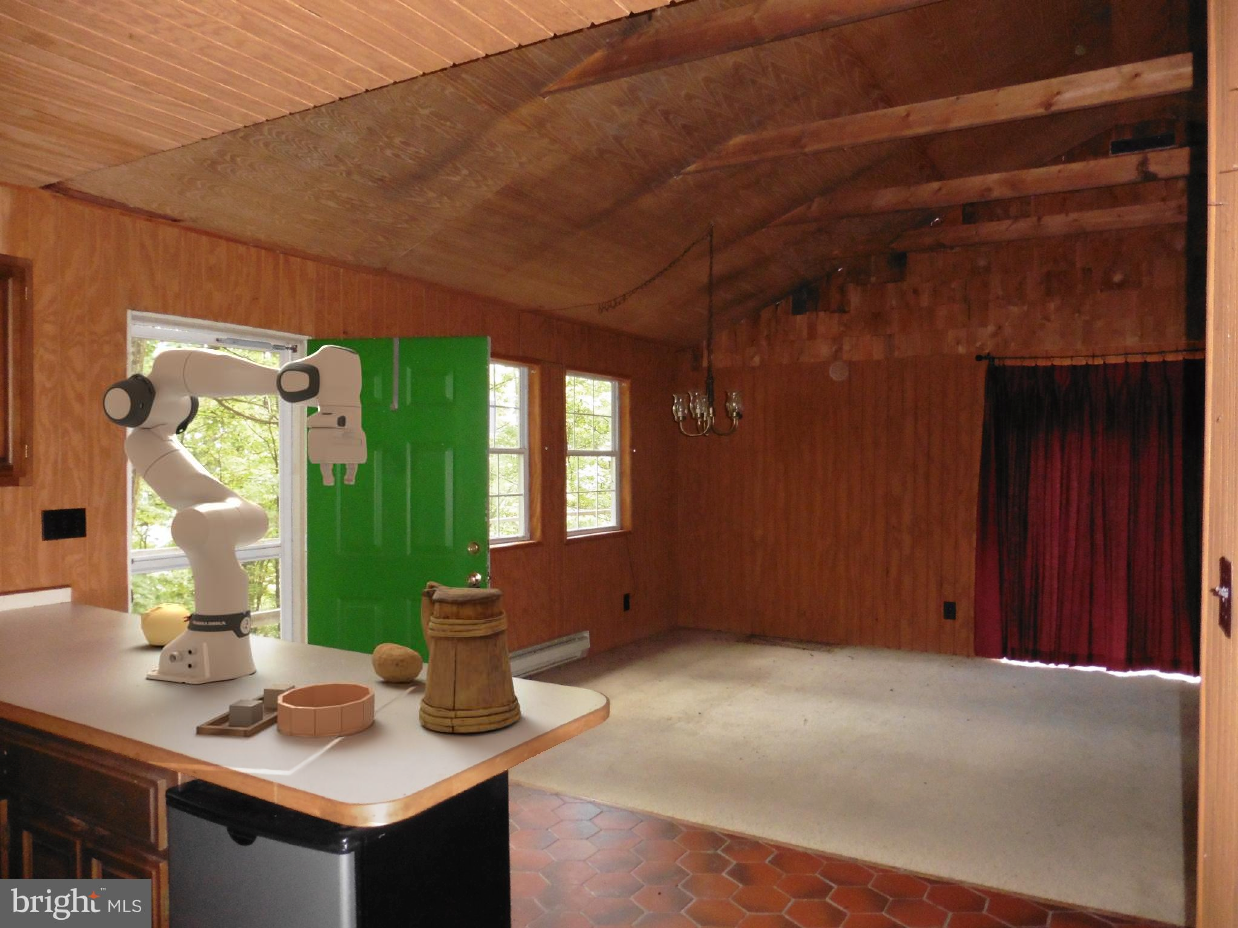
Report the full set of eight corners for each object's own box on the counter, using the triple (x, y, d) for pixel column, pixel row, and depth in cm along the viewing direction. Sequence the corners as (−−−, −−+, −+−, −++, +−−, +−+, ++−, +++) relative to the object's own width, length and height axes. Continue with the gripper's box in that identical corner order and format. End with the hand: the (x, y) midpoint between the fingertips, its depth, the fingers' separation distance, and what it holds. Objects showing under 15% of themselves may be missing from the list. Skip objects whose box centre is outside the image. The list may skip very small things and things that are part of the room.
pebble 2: (263, 707, 160) (263, 688, 160) (273, 701, 163) (274, 683, 163) (284, 708, 159) (284, 689, 159) (294, 702, 163) (294, 684, 163)
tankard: (472, 743, 142) (473, 598, 142) (381, 718, 155) (382, 586, 155) (539, 717, 157) (540, 586, 157) (451, 696, 170) (452, 575, 170)
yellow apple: (179, 637, 224) (179, 598, 224) (201, 643, 217) (202, 602, 217) (134, 645, 215) (134, 603, 215) (156, 651, 208) (156, 608, 208)
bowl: (258, 737, 144) (258, 705, 144) (307, 709, 161) (307, 680, 161) (347, 742, 142) (348, 710, 142) (388, 713, 158) (388, 684, 158)
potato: (395, 692, 173) (395, 654, 173) (361, 680, 182) (361, 644, 182) (435, 683, 180) (435, 647, 180) (400, 672, 189) (400, 637, 189)
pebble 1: (229, 725, 149) (229, 705, 149) (240, 718, 152) (241, 699, 152) (251, 726, 148) (251, 706, 148) (263, 720, 152) (263, 700, 152)
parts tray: (196, 737, 144) (196, 726, 144) (278, 695, 170) (278, 686, 170) (249, 740, 143) (249, 729, 143) (323, 697, 168) (323, 688, 168)
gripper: (348, 423, 189) (347, 483, 189) (302, 418, 169) (301, 485, 169) (374, 423, 188) (373, 483, 188) (331, 418, 168) (330, 486, 168)
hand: (339, 484), depth 178 cm, fingers open, 8 cm apart
